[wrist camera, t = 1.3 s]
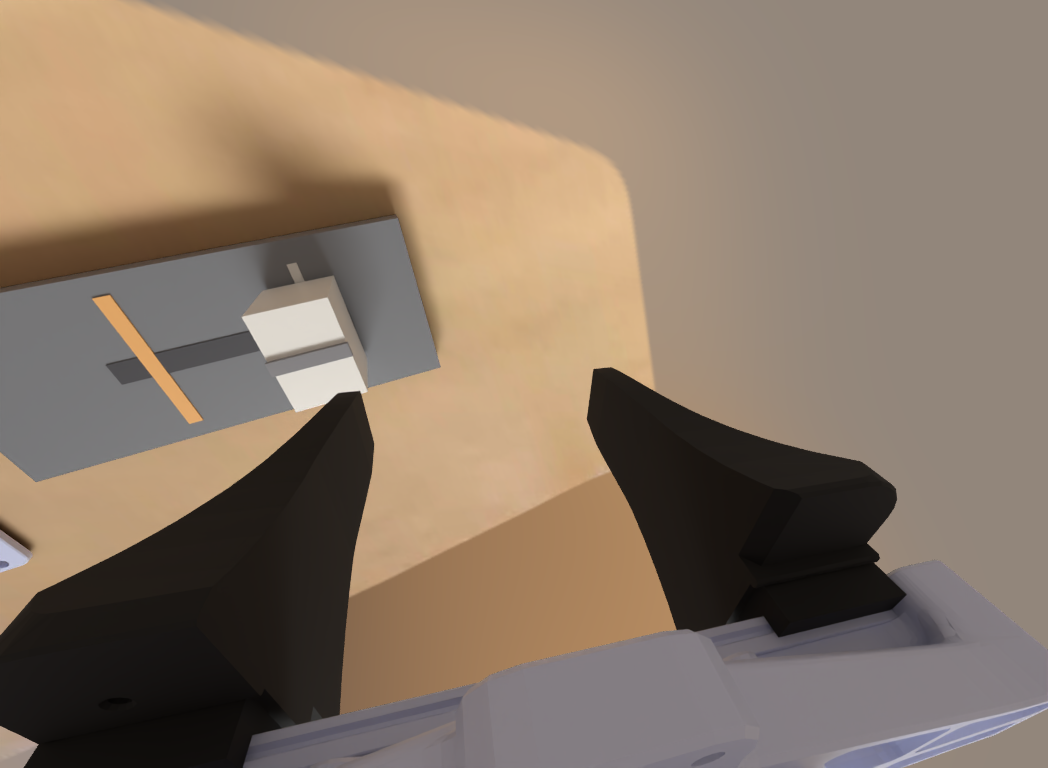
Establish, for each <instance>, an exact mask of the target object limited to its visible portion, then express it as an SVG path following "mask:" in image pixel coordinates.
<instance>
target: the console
mask: <svg viewBox="0 0 1048 768" xmlns="http://www.w3.org/2000/svg"><path fill="white" fill-rule="evenodd" d="M333 275H334V278H335V280H336V283H337V285H338V288H339V290H340V293H341V295H342V298H343V300H344V303H345V305H346V308H347V310H348V312H349V315H350V317H351V320H352V322H353V325H354V327H355V330H356V332H357V335H358V337H359V340H360V342H361V345H362V347H363V350H364V352H365V355H366V357H367V376H368V388H369V387H373V386H376V385H380V384H383V383H387V382H390V381H394V380H397V379H401V378H404V377H408V376H411V375H415V374H419V373H422V372H426V371H429V370H433V369H436V368H440V363H439V360H438V356H437V353H436V349H435V346H434V342H433V339H432V335H431V332H430V328H429V325H428V321H427V318H426V314H425V311H424V307H423V304H422V300H421V297H420V293H419V290H418V286H417V283H416V279H415V276H414V272H413V269H412V265H411V262H410V258H409V255H408V252H407V248H406V245H405V241H404V238H403V234H402V231H401V227H400V224H399V220H398V217H397V216H396V214H395V215H390V216H385V217H379V218H374V219H368V220H363V221H358V222H352V223H347V224H342V225H336V226H331V227H325V228H320V229H315V230H309V231H304V232H299V233H293V234H288V235H282V236H277V237H272V238H266V239H261V240H256V241H250V242H245V243H239V244H234V245H229V246H223V247H218V248H213V249H207V250H202V251H196V252H191V253H186V254H180V255H175V256H170V257H164V258H159V259H153V260H148V261H143V262H137V263H132V264H127V265H121V266H116V267H110V268H105V269H100V270H94V271H89V272H84V273H78V274H73V275H67V276H62V277H57V278H51V279H46V280H41V281H35V282H30V283H24V284H19V285H14V286H8V287H3V288H0V452H1V453H2V454H3V455H4V456H6V457H7V458H8V459H9V460H10V461H12V462H13V463H14V464H15V465H16V466H17V467H19V468H20V469H21V470H22V471H23V472H25V473H26V474H27V475H28V476H29V477H31V478H32V479H33V480H34V481H35V482H38V481H42V480H45V479H49V478H52V477H56V476H59V475H63V474H66V473H70V472H73V471H77V470H80V469H84V468H87V467H91V466H94V465H98V464H101V463H105V462H108V461H112V460H116V459H119V458H123V457H126V456H130V455H133V454H137V453H140V452H144V451H147V450H151V449H154V448H158V447H161V446H165V445H168V444H172V443H175V442H179V441H182V440H186V439H190V438H193V437H197V436H200V435H204V434H207V433H211V432H214V431H218V430H221V429H225V428H228V427H232V426H235V425H239V424H242V423H246V422H249V421H253V420H256V419H260V418H264V417H267V416H271V415H274V414H278V413H281V412H285V411H288V410H292V409H294V408H293V406H292V405H291V403H290V401H289V399H288V398H287V396H286V394H285V392H284V391H283V389H282V387H281V385H280V384H279V382H278V380H277V378H276V377H272V376H271V375H270V373H269V371H268V369H267V368H266V366H265V363H266V362H267V361H266V359H265V357H264V356H263V354H262V352H261V350H260V349H259V347H258V345H257V343H256V342H255V340H254V338H253V336H252V335H251V333H250V331H249V329H248V328H247V326H246V324H245V322H244V321H243V319H242V316H243V314H244V313H245V312H246V311H247V309H248V308H249V307H250V305H251V304H252V303H253V302H254V300H255V299H256V298H257V297H258V295H259V294H260V293H261V292H262V291H263V290H268V289H272V288H277V287H282V286H286V285H291V284H296V283H300V282H305V281H310V280H314V279H319V278H324V277H328V276H333Z"/></svg>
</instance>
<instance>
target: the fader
mask: <svg viewBox="0 0 1048 768" xmlns="http://www.w3.org/2000/svg"><path fill="white" fill-rule="evenodd" d="M242 319H243V321H244V322H245V324H246V326H247V328H248V329H249V331H250V333H251V335H252V336H253V338H254V340H255V342H256V343H257V345H258V347H259V349H260V350H261V352H262V354H263V356H264V357H265V359H266V361H267V362H266V363H265V366H266V368H267V369H268V371H269V373H270V375H271V376H272V377H276V378H277V380H278V382H279V384H280V385H281V387H282V389H283V391H284V392H285V394H286V396H287V398H288V399H289V401H290V403H291V405H292V406H293V408H294V410H295V412H299V411H303V410H306V409H310V408H313V407H317V406H320V405H324V404H327V403H328V402H329V401H330V400H331V399H332V398H333V397H334V396H335V395H336V394H337V393H342V392H353V391H360V392H361V394H362V393H365V392H368V376H367V357H366V355H365V352H364V350H363V347H362V345H361V342H360V340H359V337H358V335H357V332H356V330H355V327H354V325H353V322H352V320H351V317H350V315H349V312H348V310H347V308H346V305H345V303H344V300H343V298H342V295H341V293H340V290H339V288H338V285H337V283H336V280H335V278H334V275H333V276H328V277H324V278H319V279H314V280H310V281H305V282H300V283H296V284H291V285H286V286H282V287H277V288H272V289H268V290H263V291H262V292H261V293H260V294H259V295H258V297H257V298H256V299H255V300H254V302H253V303H252V304H251V305H250V307H249V308H248V309H247V311H246V312H245V313H244V314H243V316H242Z"/></svg>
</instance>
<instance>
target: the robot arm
mask: <svg viewBox="0 0 1048 768" xmlns="http://www.w3.org/2000/svg"><path fill="white" fill-rule="evenodd" d="M587 421H588V423H589V426H590V429H591V432H592V434H593V437H594V439H595V442H596V444H597V446H598V448H599V450H600V452H601V454H602V456H603V458H604V459H605V461H606V463H607V465H608V467H609V468H610V470H611V472H612V474H613V476H614V477H615V479H616V481H617V483H618V485H619V486H620V488H621V490H622V492H623V494H624V495H625V497H626V499H627V501H628V503H629V505H630V507H631V509H632V511H633V513H634V516H635V518H636V521H637V523H638V525H639V528H640V530H641V533H642V535H643V537H644V540H645V542H646V545H647V548H648V550H649V553H650V555H651V558H652V560H653V563H654V566H655V568H656V571H657V574H658V577H659V579H660V582H661V585H662V588H663V591H664V593H665V596H666V599H667V602H668V605H669V608H670V611H671V614H672V617H673V620H674V623H675V626H676V629H677V630H674V631H663V632H659V633H654V634H650V635H646V636H641V637H637V638H633V639H628V640H624V641H620V642H615V643H611V644H606V645H602V646H598V647H594V648H589V649H585V650H580V651H576V652H571V653H567V654H563V655H559V656H554V657H550V658H546V659H541V660H537V661H532V662H528V663H524V664H520V665H517V666H515V667H511V668H508V669H506V670H503V671H500V672H497V673H494V674H491V675H489V676H488V677H486V678H485V679H483V680H482V681H480V682H479V683H474V684H470V685H466V686H462V687H457V688H453V689H449V690H444V691H440V692H436V693H432V694H427V695H423V696H419V697H414V698H410V699H406V700H402V701H398V702H393V703H389V704H384V705H380V706H376V707H372V708H368V709H363V710H359V711H354V712H350V713H346V714H342V715H339V714H340V698H341V681H342V666H343V654H344V641H345V628H346V619H347V609H348V599H349V589H350V581H351V573H352V564H353V556H354V551H355V545H356V540H357V536H358V532H359V527H360V523H361V519H362V514H363V510H364V506H365V501H366V497H367V493H368V488H369V484H370V479H371V475H372V466H373V454H374V441H373V437H372V434H371V430H370V426H369V422H368V418H367V415H366V411H365V407H364V403H363V399H362V396H361V392H360V391H353V392H342V393H337V394H336V395H335V396H334V397H333V398H332V399H331V400H330V401H329V402H328V403H327V404H326V405H325V406H324V407H323V408H322V409H321V410H320V411H319V412H318V413H317V414H316V415H315V416H314V417H313V418H312V419H311V420H310V421H309V422H308V423H306V424H305V425H304V426H303V427H302V428H301V429H300V430H299V431H298V432H297V433H296V434H295V435H294V436H293V437H292V438H290V439H289V440H288V441H287V442H286V443H285V444H284V445H282V446H281V447H280V448H279V449H278V450H277V451H276V452H274V453H273V454H272V455H271V456H270V457H269V458H268V459H266V460H265V461H264V462H263V463H261V464H260V465H259V466H258V467H256V468H255V469H254V470H252V471H251V472H250V473H248V474H247V475H246V476H244V477H243V478H242V479H240V480H239V481H237V482H236V483H235V484H233V485H232V486H231V487H229V488H228V489H226V490H225V491H223V492H222V493H220V494H219V495H217V496H215V497H214V498H212V499H211V500H209V501H208V502H206V503H205V504H203V505H201V506H200V507H198V508H197V509H195V510H194V511H192V512H191V513H189V514H187V515H186V516H184V517H183V518H181V519H179V520H178V521H176V522H174V523H172V524H171V525H169V526H167V527H165V528H164V529H162V530H160V531H159V532H157V533H155V534H153V535H151V536H150V537H148V538H146V539H144V540H142V541H140V542H139V543H137V544H135V545H133V546H131V547H129V548H127V549H126V550H124V551H122V552H120V553H118V554H116V555H114V556H112V557H110V558H108V559H106V560H104V561H102V562H100V563H98V564H96V565H94V566H92V567H90V568H88V569H86V570H84V571H82V572H80V573H78V574H75V575H73V576H71V577H69V578H67V579H65V580H63V581H61V582H59V583H57V584H55V585H53V586H51V587H49V588H46V589H44V590H42V591H40V592H38V593H37V594H36V595H35V596H34V597H33V598H32V600H31V601H30V602H29V603H28V604H27V605H26V606H25V608H24V609H23V610H22V611H21V612H20V613H19V615H18V616H17V617H16V618H15V619H14V620H13V621H12V623H11V624H10V625H9V626H8V627H7V628H6V630H5V631H4V632H3V633H2V634H1V635H0V726H2V727H4V728H6V729H8V730H10V731H12V732H14V733H16V734H19V735H21V736H23V737H25V738H27V739H29V740H31V741H33V742H35V743H37V744H39V745H38V746H37V748H36V750H35V751H34V753H33V754H32V756H31V757H30V759H29V760H28V762H27V764H26V765H25V766H24V768H903V767H906V766H909V765H911V764H914V763H917V762H920V761H922V760H925V759H928V758H931V757H933V756H936V755H939V754H942V753H944V752H947V751H950V750H953V749H956V748H958V747H961V746H964V745H967V744H970V743H973V742H976V741H979V740H981V739H985V738H987V737H990V736H993V735H995V734H997V733H999V732H1001V731H1004V730H1006V729H1007V728H1010V727H1012V726H1014V725H1016V724H1017V723H1020V722H1022V721H1024V720H1026V719H1028V718H1030V717H1032V716H1034V715H1036V714H1038V713H1040V712H1042V711H1044V710H1046V709H1048V649H1046V648H1045V647H1044V646H1043V645H1041V644H1040V643H1039V642H1038V641H1037V640H1035V639H1034V638H1033V637H1032V636H1031V635H1029V634H1028V633H1027V632H1026V631H1025V630H1023V629H1022V628H1021V627H1020V626H1019V625H1017V624H1016V623H1015V622H1014V621H1013V620H1011V619H1010V618H1009V617H1008V616H1006V615H1005V614H1004V613H1003V612H1002V611H1001V610H999V609H998V608H997V607H996V606H995V605H993V604H992V603H991V602H990V601H989V600H987V599H986V598H985V597H984V596H983V595H981V594H980V593H979V592H978V591H977V590H975V589H974V588H973V587H972V586H970V585H969V584H968V583H967V582H966V581H964V580H963V579H962V578H961V577H960V576H958V575H957V574H956V573H955V572H954V571H952V570H951V569H950V568H949V567H948V566H946V565H945V564H944V563H943V562H941V561H939V560H932V561H927V562H923V563H918V564H914V565H909V566H905V567H901V568H898V569H895V570H893V571H892V572H890V573H888V574H887V575H886V574H885V573H884V572H883V571H882V570H881V569H880V568H879V567H878V566H877V565H875V563H874V562H877V561H878V560H879V559H880V557H879V554H878V553H877V552H876V551H875V550H874V549H873V548H871V547H870V546H869V545H868V544H867V542H868V541H869V540H870V538H871V537H872V536H873V535H874V534H875V532H876V531H877V530H878V529H879V527H880V526H881V525H882V524H883V523H884V521H885V520H886V519H887V518H888V516H889V515H890V513H891V512H892V510H893V509H894V506H895V504H896V501H897V495H896V489H895V488H894V486H893V485H892V484H891V483H889V482H888V481H887V480H885V479H884V478H883V477H881V476H880V475H879V474H877V473H876V472H875V471H873V470H872V469H871V468H869V467H868V466H867V465H865V464H864V463H862V462H860V461H856V460H851V459H846V458H841V457H836V456H831V455H826V454H821V453H816V452H812V451H808V450H804V449H800V448H796V447H792V446H788V445H784V444H780V443H777V442H774V441H770V440H767V439H764V438H760V437H758V436H754V435H752V434H749V433H745V432H743V431H740V430H737V429H734V428H731V427H729V426H726V425H723V424H721V423H719V422H716V421H714V420H711V419H709V418H707V417H704V416H702V415H700V414H698V413H695V412H693V411H691V410H689V409H687V408H685V407H683V406H681V405H679V404H677V403H675V402H673V401H671V400H669V399H667V398H666V397H664V396H662V395H660V394H658V393H657V392H655V391H653V390H651V389H650V388H648V387H646V386H644V385H643V384H641V383H639V382H637V381H636V380H634V379H632V378H631V377H629V376H627V375H625V374H623V373H622V372H620V371H618V370H616V369H614V368H611V367H610V368H599V369H594V370H593V377H592V385H591V392H590V400H589V407H588V415H587ZM31 557H32V553H31V552H30V551H29V550H28V549H26V548H25V547H24V546H22V545H21V544H19V543H18V542H17V541H15V540H14V539H12V538H11V537H10V536H8V535H7V534H5V533H4V532H3V531H1V530H0V572H3V571H6V570H9V569H13V568H16V567H19V566H22V565H24V564H26V563H27V562H28V561H29V560H30V558H31Z"/></svg>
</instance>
